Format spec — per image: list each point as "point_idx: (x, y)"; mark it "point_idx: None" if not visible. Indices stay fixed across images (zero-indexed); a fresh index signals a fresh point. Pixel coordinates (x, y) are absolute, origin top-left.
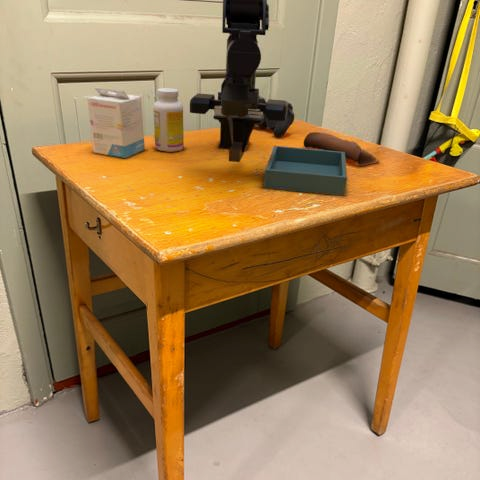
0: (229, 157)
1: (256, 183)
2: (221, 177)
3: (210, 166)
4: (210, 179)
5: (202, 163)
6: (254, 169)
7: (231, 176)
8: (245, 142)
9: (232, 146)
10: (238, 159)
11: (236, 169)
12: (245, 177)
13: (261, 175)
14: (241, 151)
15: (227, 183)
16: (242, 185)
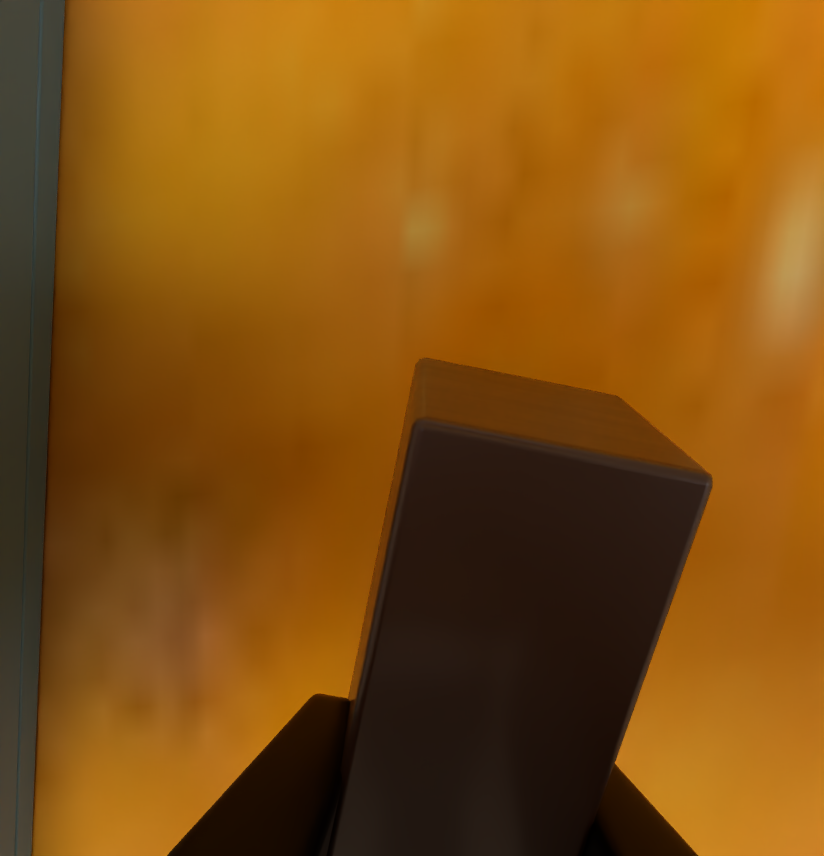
0: (630, 414)
1: (182, 178)
2: (637, 382)
3: (718, 758)
4: (796, 283)
5: (794, 841)
6: (217, 707)
7: None
8: (241, 837)
9: (590, 722)
10: (439, 367)
11: None
12: (327, 414)
13: (128, 510)
14: (366, 623)
15: (583, 131)
16: (376, 61)
